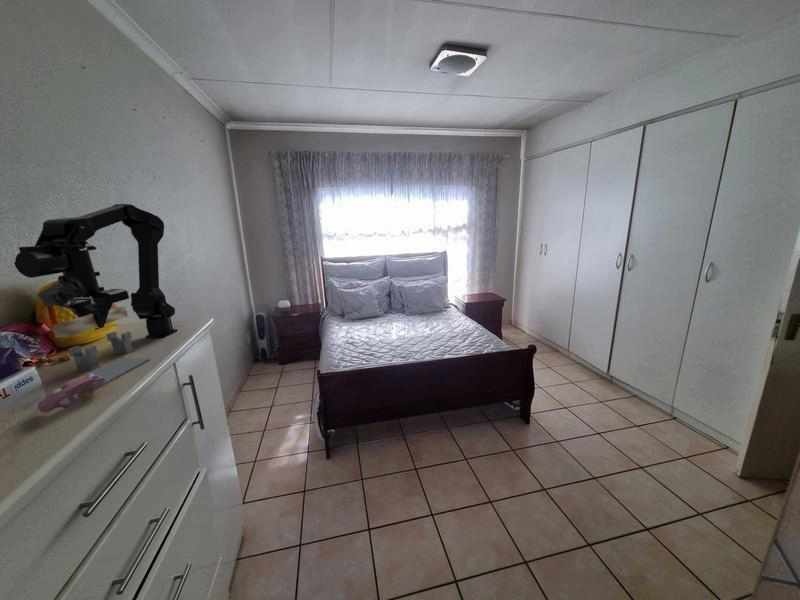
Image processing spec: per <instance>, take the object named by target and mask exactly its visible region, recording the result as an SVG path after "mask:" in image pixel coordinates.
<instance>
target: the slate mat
mask: <svg viewBox="0 0 800 600" xmlns="http://www.w3.org/2000/svg"><path fill="white" fill-rule="evenodd" d="M149 361H150V362H151V359H150V358H132V357H131V358H130V357H129V358H128V357H127V358H124V357H121V358H118V359H115V360H113V361H112V362H109V363H108V364H107V363H106V365H103V366H102V367H98V368H96V369H94V370H92V371H91V372H89V373H87V374H85V375H82V376H81V377H84V376H88V375H89V374H91V373H93V374H96V375H99V376H101V377H103V378H104V379H105V381H104V383H103V384H102V385H101V386H100V387H99V388H98V389H100V388H102V387H103V386H106V385H107V384H110V383H111V382H113V381H115V380H117V379H119V378H120V377H122V376H124V375H125V374H127V373H129V372H131V371H133V370H135V369H136V368H139V367H140V366H143V365H144V364H146V363H148V362H149ZM60 387H61V386H59V387H58V388H60Z"/></svg>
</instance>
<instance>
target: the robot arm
mask: <svg viewBox="0 0 800 600" xmlns="http://www.w3.org/2000/svg"><path fill="white" fill-rule="evenodd" d="M119 222H121V224H123V225H124V226H126V227H128V228H130V232H131V235H132V237H133V238H134V240H135V241H136V242H137V252H138V283H139V284H138V289H137V290H136V292H132V293H130V294H131V295H129V291H128V290H126V289H124V288H111V289H106V290H105V287H104V286H100V285H99V282H98V280H97V279H98V278H97V277H100V276H101V273H100V271H95V269H94V265H93V263H92V258H91V255H90V251H94V250H97V247H96V246H95V245H92V244H90V243H89V242H88V240H89V239H91V238H92V237H94V236H95V234H96V232H97V231H99V230H101V229H103V228H106V227H110V226H111V225H114V224H117V223H119ZM164 233H165V223H164V221H163V220H162V219H161V218H160V217H159V216H158V215H155V214H153V213H152V212H149V211H146V210H143V209H140V208H138V207H136V206H135V205H133V204H130V203H121V204H120V203H115V204H113V205H112V206H109V207H106V208H102V209H99V210H96V211H93V212H90V213H87V214H84V215H81V216H74V217H60V218H52V219H47V220H45V221H44V222H42V230H41V232H40V233H39V236H38V238H37V240H36V242H35V245H34V246H19V247H18V250H19V253H17V254H16V256H15V261H14V266H15V268H16V270H17V271H18V272H19V274H21V275H23V277H26V278H31V279H32V278H37V277H38V278H39V277H45V276H50V275H55V274H61V273H62V275H58V277H57V281H58V283H56V284H53V285H51V286H49V287H48V288H46V289H43V290H42V291H40V292H39V293H37V296H38V297H39V298H40V299H41V301H42V302H43V303H42V304H43V305H46V306H48V307H50V306H56V307H60V308H65V309H67V310H68V311H69V310H70V311H71V312H73V314H74V315H75V316H76V317H77V318H79V317H83V316H86V315H89V314H93V316H94V319H95V321H96V324H97V326H98V327H97V328H99V329H103V328H104V327H105V325H106V324H105V322H106V319H107V316H108V313H109V311H110V308H112V307H113V304H114V303H118V302H122V301H126V300H129V299H131V300H130V301H131V302H130V307H132V311H133V312H135V314H136V316H137V317H138V319H139V320H145V323H146V324H145V326H146V330H147V331H146V332H147V333H148V334H147V335H145V338H166V337H167V336H169V335H171V334H173V333H175V332H177V331H178V329H177V328H174V326H173V323H172V322H173V321H172V319H171V318H172V317H173V316H175V314H176V308H175V307H173V306H172V305H171V304H169V303H167V299H166V295H165V293H164V292H163V291H162V290H161V287H160V277H159V273H160V272H159V247H158V245H159V243H160V242H161V240H162V238H163V237H164Z"/></svg>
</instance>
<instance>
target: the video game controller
mask: <svg viewBox="0 0 800 600" xmlns="http://www.w3.org/2000/svg"><path fill="white" fill-rule="evenodd" d="M90 373H91V372H90ZM83 376H84V375H83ZM104 381H105V379H104V378H103V377H101V376H99V375H96V374H93V373H91V374H89V375H88V376H84V377H82V376H79V377H76V378H72V379H70V380H69V381H67V382H66V383H64V384H63V385H62V386H59V387H60V388H59V387H58V388H55V389H53V390H52V391H51V392H49V393H48V394H47V395H46V396H45V398H43V399H42V400H41V401H39V402H38V403H37V410H38V411H39V412H41V413H45V414H46V413H50V412H52V411H53V410H55V409H57V408H63V409H68V408H70V407H71V406H74V404H75V403H76V401H77V398H75V397H74V396H76V395H77V397H78V398H79V399H81V400H85V399H87V398H89V397H91V396H92V395H93V393H94V392H95V391H96V390H98V389H100V388H101V387H100V386H101V385H102V384H103V383H104ZM99 387H100V388H99Z"/></svg>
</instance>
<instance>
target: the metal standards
mask: <svg viewBox="0 0 800 600" xmlns="http://www.w3.org/2000/svg"><path fill="white" fill-rule="evenodd" d="M105 335H106V339H107V341H108V342H110V343H111V347H112V349H113V350H112V351H113V353H114V354H115V355H116V354H118V355H119V354H121V355H122V354H124V355H125V354H129V353H132V352H133V351H134V349H133V346H132V341H131V340H132V339H133V337H132V332H131V331H127V332H124V333H121V334H120V336H121V337H118V334H117V332H116V331H112V332H109V333H107V334H105ZM67 350H68V353H69V356H70V357H73V359H74V362H75V365H76V368H77V371H95V370H97V369H99V368H101V367H100V364H99V361H98V357H97V354H99V352H98V348H97V346H96V345H92V346H88V347H86V348H84V352H82V349H81V345H76V346H75V345H74V346H73V347H70V348H68V349H67Z"/></svg>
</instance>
